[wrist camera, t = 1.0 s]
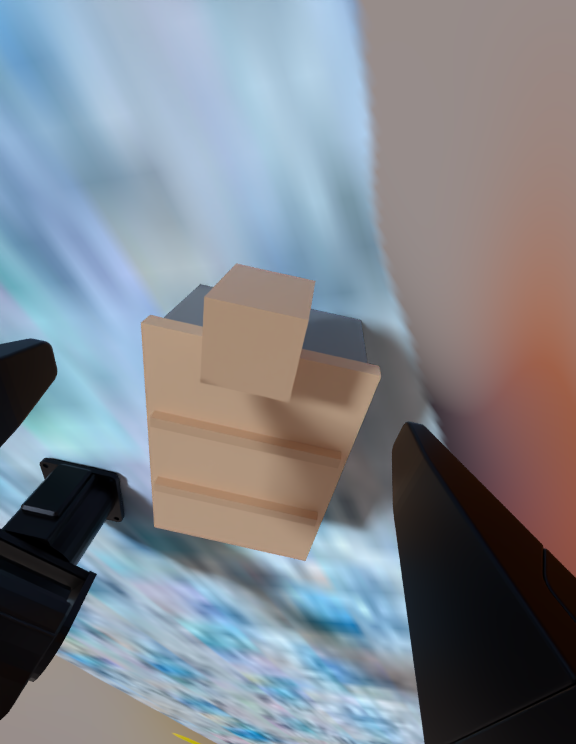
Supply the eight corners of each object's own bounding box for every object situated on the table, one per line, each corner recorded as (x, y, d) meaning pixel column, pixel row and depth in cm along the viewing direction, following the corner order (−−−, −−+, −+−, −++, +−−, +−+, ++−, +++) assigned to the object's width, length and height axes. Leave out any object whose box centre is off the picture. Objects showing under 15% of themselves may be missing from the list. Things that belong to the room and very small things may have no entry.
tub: (306, 483, 26) (301, 545, 22) (193, 457, 26) (165, 515, 22) (360, 320, 18) (368, 367, 14) (200, 284, 18) (159, 321, 14)
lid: (306, 548, 22) (301, 610, 19) (159, 515, 22) (131, 573, 19) (404, 300, 12) (427, 346, 9) (146, 243, 12) (85, 270, 9)
